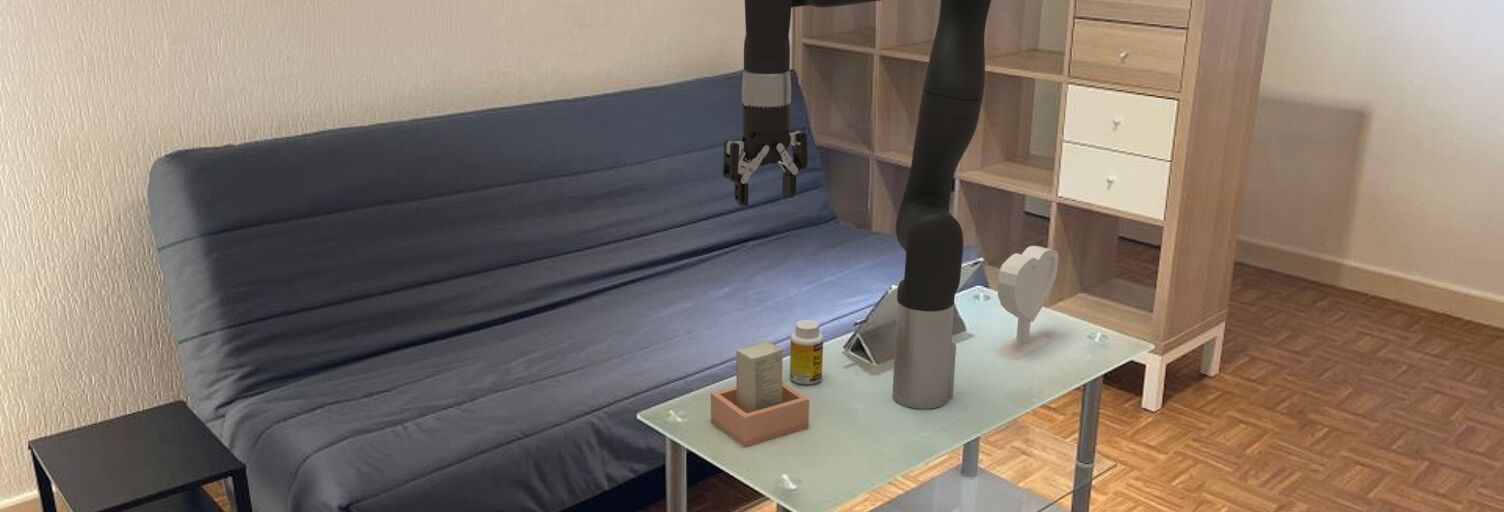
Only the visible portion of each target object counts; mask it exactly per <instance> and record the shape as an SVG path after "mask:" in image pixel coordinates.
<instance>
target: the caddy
mask: <svg viewBox="0 0 1504 512" xmlns="http://www.w3.org/2000/svg"><path fill="white" fill-rule="evenodd" d="M710 422H711V423H712V424H713V425H715V426H716V427H717V428H719V429H720V430H722V431H723V432H725V433H726V434H727V435H728V436H729V437H731V438H732V439H733V440H734V441H736V442H737V443H739V444H740V445H741V446H743V448H746V447H749V446H753V445H757V444H758V443H763V442H765V441H766V442H767V441H769V440H772V439H776V438H778V437H783V436H786V435H788V434H789V435H790V434H791V433H795V432H799V431H802V430H806V429H809V427H810V426H809V424H810V423H809V422H810V398H809V397H806V396H805V395H804V394H802V393H801V392H799V391H798V390H796V389H794V388H793V387H791V386H790V385H789V384H787V383H785V382H784V381H782V404H778V405H775V406H771V407H768V408H764V409H761V410H757V411H754V412H750V413H745V412H744V411H742V410H741V409H740V408H738V407H737V385H736V386H733V387H728V388H725V389H722V390H718V391H713V392H710Z"/></svg>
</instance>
